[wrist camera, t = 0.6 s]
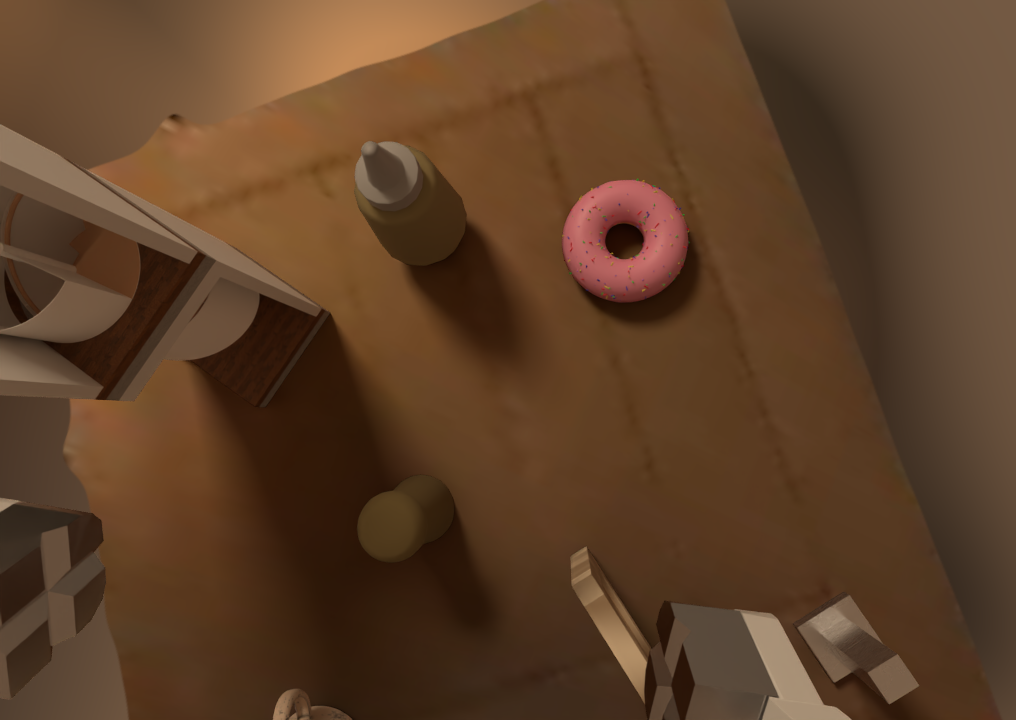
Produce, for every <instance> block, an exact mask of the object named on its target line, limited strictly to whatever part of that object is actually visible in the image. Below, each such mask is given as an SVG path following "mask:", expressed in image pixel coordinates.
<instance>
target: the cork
mask: <svg viewBox="0 0 1016 720" xmlns="http://www.w3.org/2000/svg"><path fill="white" fill-rule="evenodd" d="M454 510H455V508H454V502H453V497H452V495H451V493H450V491H449V489H448V488H447V487H446V486H445V485H444V484H443V483H442V482H441V481H440V480H438V479H436V478H434V477H432V476H427V475H416V476H411V477H409V478H407V479H405V480H403V481H402V482H401V483H400V484H399V485H398V486H397V487H396V488H395V489H394V490H393V491H388V492H383V493H380V494H378V495H377V496H375V497H373V498H371V499H370V500H369V502H368V503H367V504H366V505H365V506H364V508H363V510H362V512H361V514H360V516H359V518H358V525H357V532H358V539H359V541H360V543H361V545H362V547H363V549H364V550H365V551H366V552H367V553H368V554H369V555H370V556H371V557H373V558H375V559H377V560H379V561H383V562H389V563H394V562H400V561H403V560H405V559H407V558H409V557H411V556H413V555H414V554H415V552H416V551H417V550H418V549H419V548H420V547H421V546H422V544H425V543H429V542H432V541H434V540H436V539H438V538H440V537H441V536H442V535H443V534H444V533H445V532H446V531H447V530H448V529H449V527H450V525H451V523H452V521H453V517H454Z"/></svg>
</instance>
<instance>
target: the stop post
mask: <svg viewBox="0 0 1016 720" xmlns="http://www.w3.org/2000/svg"><path fill="white" fill-rule="evenodd" d="M793 625H794V626H795V628H796V629H797V631H798V632H799V634H800V635H801V637H802V638H803V640H804V641H805V643H806V644H807V646H808V647H809V649H810V650H811V652H812V653H813V655H814V656H815V658H816V659H817V661H818V662H819V664H820V665H821V667H822V668H823V670H824V671H825V673H826V674H827V675H828V677H829V678H830V679H831V680H832V681H833V682H834V683H835V682H836V681H838V680H840V679H841V678H843V677H844V676H846V675H848V674H849V673H851V672H853V673H854V674H855V675H856V676H857V677H858V678H860V679H861V680H862V681H863V682H864V683H865V684H866V685H868V686H869V687H870V688H871V689H872V690H873V691H874V692H876V693H877V694H878V695H879V696H880V697H881V698H882V699H884V700H885V701H886V702H887V703H888V704H891V703H892V702H894V701H896V700H897V699H899V698H900V697H902V696H904V695H905V694H907V693H908V692H910V691H912V690H913V689H915V688H917V687H918V686H919V685H918V683H917V682H916V680H915V679H914V677H913V676H912V674H911V673H910V672H909V670H908V669H907V667H906V666H905V664H904V663H903V661H902V660H901V659H900V657H899V656H898V654H897V653H895V652H894V651H892V650H891V649H889V648H888V647H887V646H885V645H884V644H883V643H882V642H881V640H880V639H879V637H878V636H877V634H876V633H875V631H874V630H873V629H872V627H871V626H870V624H869V623H868V621H867V620H866V618H865V617H864V615H863V614H862V613H861V611H860V610H859V608H858V607H857V605H856V604H855V602H854V601H853V600H852V598H851V597H850V595H849V594H847V593H845V592H843V593H841V594H839V595H838V596H836V597H835V598H833V599H831V600H830V601H828V602H827V603H825V604H823V605H822V606H820V607H819V608H817V609H815V610H814V611H812V612H811V613H809V614H808V615H806V616H804V617H803V618H801V619H800V620H798V621H796V622H795V623H793Z"/></svg>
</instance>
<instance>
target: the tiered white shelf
mask: <svg viewBox="0 0 1016 720" xmlns="http://www.w3.org/2000/svg"><path fill="white" fill-rule="evenodd" d="M329 314H330V312H329V311H327V310H326V309H324V308H323V307H321V306H320V305H318V304H317V303H315V302H314V301H313V300H311V299H310V298H308V297H307V296H305V295H304V294H302V293H301V292H299V291H298V290H297V289H295V288H294V287H292V286H291V285H289V284H288V283H286V282H285V281H283V280H282V279H280V278H279V277H278V276H276V275H275V274H273V273H272V272H270V271H269V270H267V269H266V268H264V267H263V266H262V265H260V264H259V263H257V262H256V261H254V260H253V259H251V258H250V257H248V256H247V255H246V254H244V253H243V252H241V251H240V250H238V249H237V248H235V247H233V246H231V245H229V244H227V243H225V242H224V241H222V240H220V239H218V238H216V237H214V236H212V235H210V234H208V233H206V232H205V231H203V230H201V229H199V228H197V227H195V226H193V225H191V224H189V223H187V222H185V221H184V220H182V219H180V218H178V217H176V216H174V215H172V214H170V213H168V212H166V211H165V210H163V209H161V208H159V207H157V206H155V205H153V204H151V203H149V202H147V201H145V200H144V199H142V198H140V197H138V196H136V195H134V194H132V193H130V192H128V191H126V190H125V189H123V188H121V187H119V186H117V185H115V184H113V183H111V182H109V181H107V180H105V179H104V178H102V177H100V176H98V175H96V174H94V173H92V172H90V171H88V170H86V169H84V168H82V167H81V166H79V165H77V164H75V163H73V162H71V161H69V160H67V159H65V158H63V157H62V156H60V155H58V154H56V153H54V152H52V151H50V150H48V149H46V148H44V147H43V146H41V145H39V144H37V143H35V142H33V141H31V140H29V139H27V138H25V137H23V136H22V135H20V134H18V133H16V132H14V131H12V130H10V129H8V128H6V127H4V126H2V125H1V124H0V395H9V396H31V397H52V398H74V399H96V400H118V401H135V399H136V398H137V396H138V395H139V393H140V392H141V391H142V389H143V388H144V386H145V385H146V383H147V382H148V380H149V379H150V378H151V376H152V375H153V373H154V372H155V370H156V369H157V368H158V366H159V365H160V363H161V362H162V360H163V359H167V360H191V361H192V362H194V363H195V364H196V365H198V366H199V367H200V368H202V369H203V370H205V371H206V372H207V373H209V374H210V375H212V376H213V377H214V378H216V379H217V380H218V381H220V382H221V383H223V384H224V385H225V386H227V387H228V388H229V389H231V390H232V391H234V392H235V393H236V394H238V395H239V396H240V397H242V398H243V399H245V400H246V401H247V402H249V403H250V404H251V405H253V406H254V407H266V406H267V404H268V403H269V401H270V400H271V398H272V397H273V396H274V394H275V393H276V391H277V390H278V388H279V387H280V385H281V384H282V382H283V381H284V379H285V378H286V377H287V375H288V374H289V372H290V371H291V369H292V368H293V366H294V365H295V363H296V362H297V361H298V359H299V358H300V356H301V355H302V353H303V352H304V350H305V349H306V347H307V346H308V344H309V343H310V342H311V340H312V339H313V337H314V336H315V334H316V333H317V331H318V330H319V328H320V327H321V326H322V324H323V323H324V321H325V320H326V318H327V317H328V315H329Z"/></svg>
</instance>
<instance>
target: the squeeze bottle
mask: <svg viewBox="0 0 1016 720" xmlns="http://www.w3.org/2000/svg"><path fill="white" fill-rule="evenodd" d="M361 152H362V155H361V157H360V159H359V161H358V162H357V164H356V170H355V189H354V194H355V197H356V200H357V204H358V207H359V209H360V211H361V212H362V214H363V216H364V217H365V219H366V220H367V222H368V224H369V225H370V227H371V228H372V230H373V232H374V233H375V235H376V236H377V238H378V240H379V241H380V243H381V244H382V245H383V247H384V248H385V249H386V250H387V251H388V253H389V254H390V255H391V256H392V257H393V258H395V259H397V260H399V261H401V262H403V263H405V264H407V265H421V266H426V265H429V264H432V263H435V262H438V261H441V260H444V259H445V258H447V257H448V256H449V255H450V254H451V253H453V252H454V251H455V249H456V248H457V246H458V244H459V243H460V241H461V239H462V237H463V235H464V233H465V226H466V216H467V214H466V211H465V208H464V205H463V202H462V198H461V197H460V196H459V195H458V193H457V192H456V191H455V190H454V189H453V187H452V186H451V185H450V184H449V182H448V181H447V180H446V179H445V178H444V176H443V175H442V174H441V173H440V171H439V170H438V169H437V168H436V167H435V165H434V164H433V163H432V162H431V161H430V160H429V158H428V157H427V156H426V155H425V154H424V153H423V152H421V151H419V150H417V149H415V148H412V147H410V146H403V145H401V144H399V143H397V142H381V143H378V144H377V143H375V142H371V141H369V142H366V143H365V144H364V145H363V146H362V150H361Z"/></svg>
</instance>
